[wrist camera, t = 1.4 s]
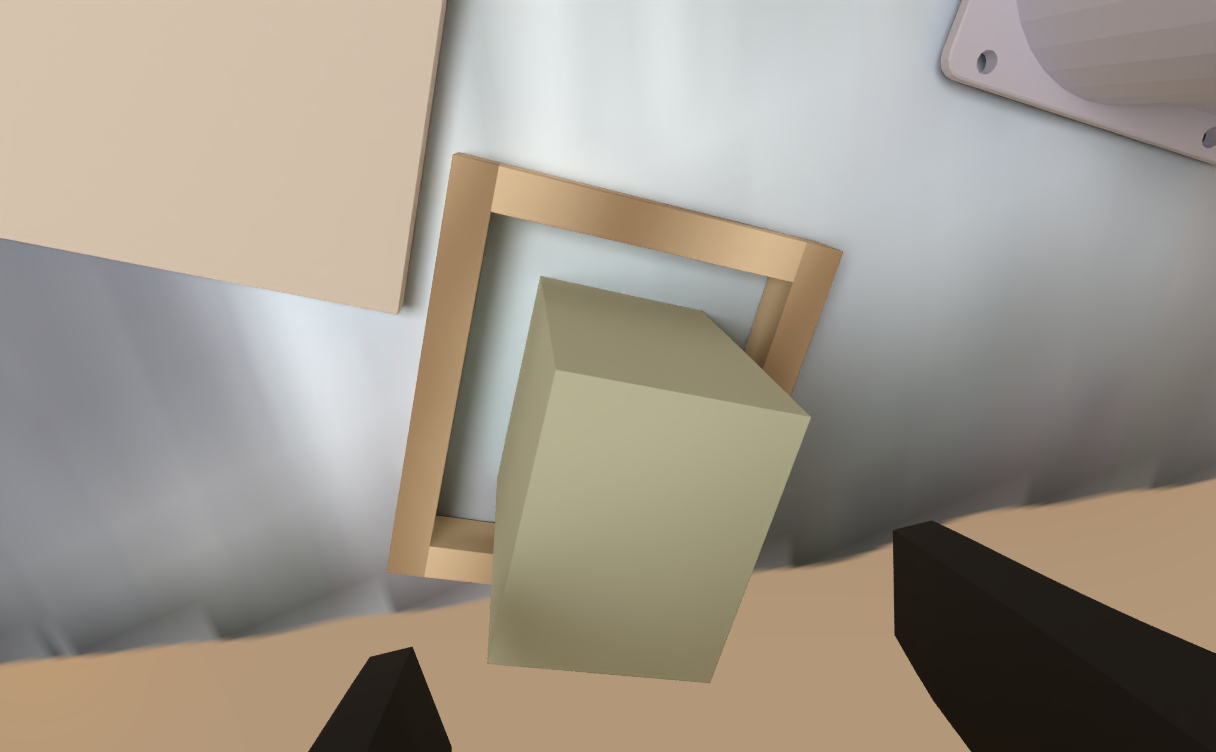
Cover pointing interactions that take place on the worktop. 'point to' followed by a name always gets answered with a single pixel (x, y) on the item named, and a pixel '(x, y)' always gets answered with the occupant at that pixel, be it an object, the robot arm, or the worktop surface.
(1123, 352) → the worktop surface
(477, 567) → the wooden square frame
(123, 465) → the worktop surface
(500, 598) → the green block
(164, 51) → the beige mat
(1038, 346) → the worktop surface
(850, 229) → the worktop surface
